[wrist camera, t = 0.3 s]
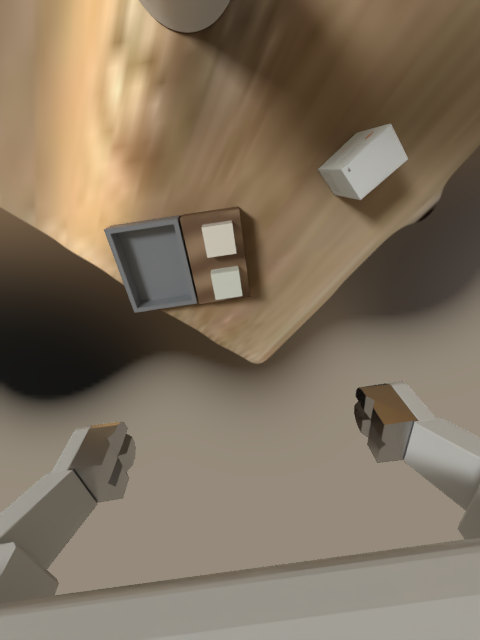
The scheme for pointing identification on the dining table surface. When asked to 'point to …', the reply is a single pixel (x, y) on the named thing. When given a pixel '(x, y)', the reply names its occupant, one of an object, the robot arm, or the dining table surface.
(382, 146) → the small box
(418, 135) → the dining table surface
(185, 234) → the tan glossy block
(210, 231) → the tile
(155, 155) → the dining table surface
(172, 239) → the bin
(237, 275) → the tile
